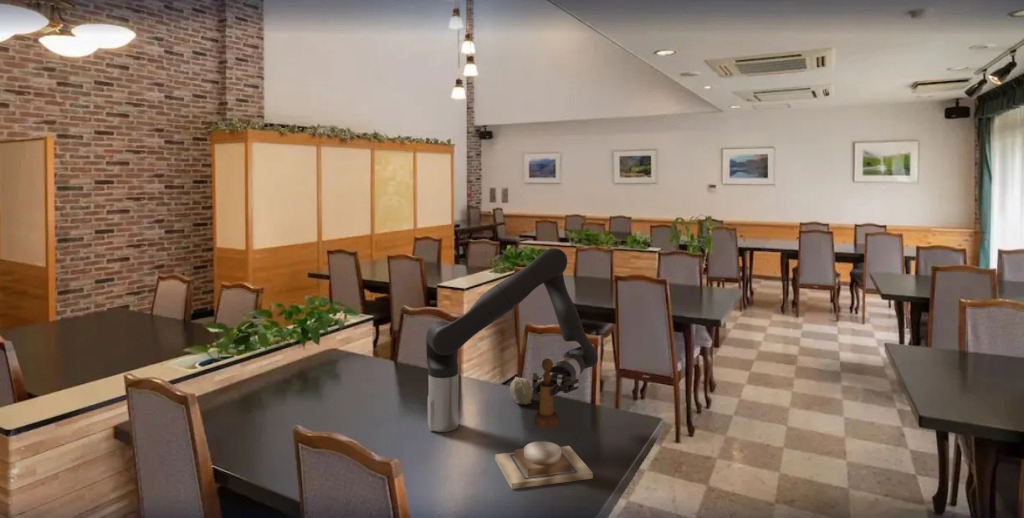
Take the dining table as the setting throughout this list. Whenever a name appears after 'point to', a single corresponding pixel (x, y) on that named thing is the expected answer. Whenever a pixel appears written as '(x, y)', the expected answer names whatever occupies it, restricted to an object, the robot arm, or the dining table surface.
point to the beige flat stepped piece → (542, 465)
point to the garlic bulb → (521, 391)
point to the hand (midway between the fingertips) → (543, 391)
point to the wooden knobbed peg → (546, 400)
